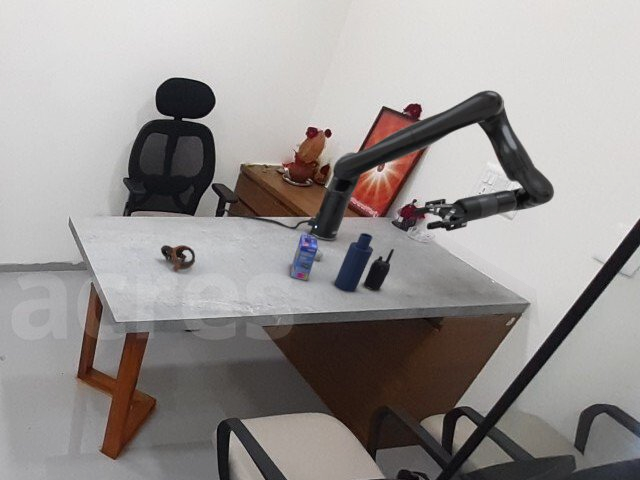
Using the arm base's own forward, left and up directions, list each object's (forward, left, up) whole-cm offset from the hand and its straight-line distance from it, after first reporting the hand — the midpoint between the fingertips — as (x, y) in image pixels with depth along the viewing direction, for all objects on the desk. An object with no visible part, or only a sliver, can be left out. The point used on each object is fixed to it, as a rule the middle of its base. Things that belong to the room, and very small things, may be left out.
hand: (420, 219), depth 165 cm
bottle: (-12, -15, -24) cm, 31 cm away
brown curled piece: (-61, -44, -24) cm, 79 cm away
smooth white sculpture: (-27, 0, -24) cm, 36 cm away
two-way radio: (-5, -9, -24) cm, 26 cm away
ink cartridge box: (-27, -17, -24) cm, 40 cm away
